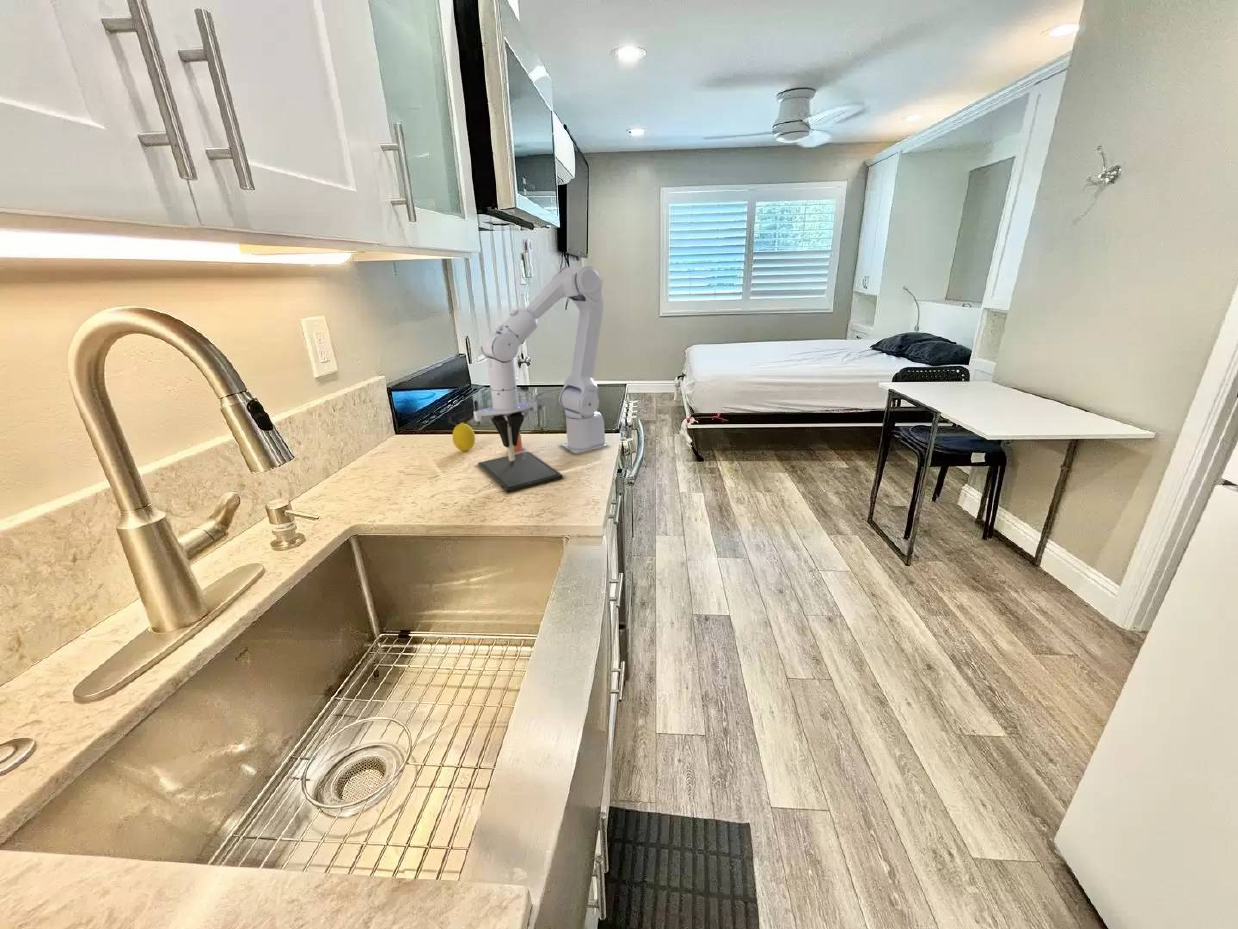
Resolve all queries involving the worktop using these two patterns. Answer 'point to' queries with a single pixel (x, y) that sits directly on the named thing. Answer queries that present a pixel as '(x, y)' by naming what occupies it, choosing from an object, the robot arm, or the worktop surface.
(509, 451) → the stylus
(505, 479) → the tablet
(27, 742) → the worktop surface
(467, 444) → the lemon
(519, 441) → the holder
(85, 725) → the worktop surface
